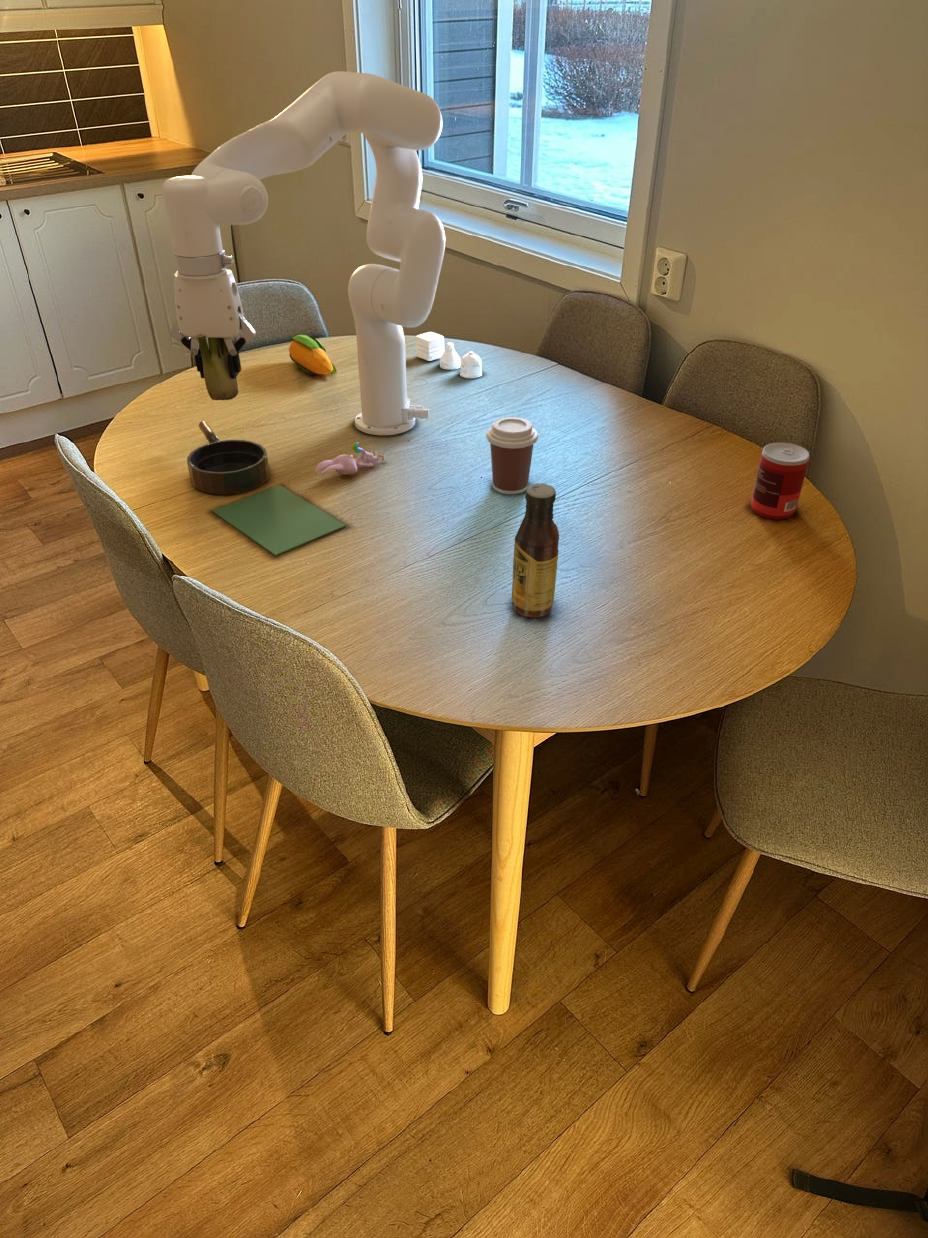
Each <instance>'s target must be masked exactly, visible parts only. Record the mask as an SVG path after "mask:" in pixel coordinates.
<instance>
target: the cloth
mask: <svg viewBox="0 0 928 1238" xmlns="http://www.w3.org/2000/svg"><path fill="white" fill-rule="evenodd" d="M211 513H213V514H215V515H216V516H218V517H219V518H220V519H221V520H223V521H225V522H226V523H228V524H229V525H230V526H231V527H233V528H235V529H236V530H238V532H240V533H241V534H243V535H245V536H246V537H247V538H248V539H250V540H251V541H253V542H255V543H256V544H257V545H259V546H260V547H262V548H263V549H265V550H266V551H267V552H269V553H270V554H272V555H273V556H274V557H278V556H280V555H282V554H285V553H287V552H289V551H291V550H295V549H296V548H299V547H301V546H304V545H306V544H308V543H311V542H314V541H315V540H319V539H320V538H322V537H325V536H328V535H331V534H333V533H335V532H337V531H340V530H341V529H344V528H346V527H347V525H346V524H345V523H343V522H341V521H339V520H338V519H336V518H335V517H333V516H331V515H330V514H328V513H326V512H325V511H323V510H322V509H320V508H318V507H316V506H315V505H314V504H312V503H310V502H309V501H307V500H305V499H303V498H302V497H301V496H299V495H297V494H296V493H294V492H292V491H291V490H289V489H287V488H285V487H284V486H282V485H280V484H279V485H276V486H274V487H271V488H269V489H266V490H263V491H260V492H257V493H255V494H252V495H250V496H247V497H245V498H241V499H239V500H236V501H233V502H231V503H228V504H225V505H223V506H219V507H217V508H214V509H212V510H211Z"/></svg>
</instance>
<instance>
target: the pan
mask: <svg viewBox="0 0 928 1238" xmlns="http://www.w3.org/2000/svg"><path fill="white" fill-rule="evenodd" d="M186 461H187V463H186V464H187V468H188V474H189V478H190V484H191V485H192V486H193V487H194V488H195V489H196V490H199V491H201V492H203V493H207V494H210V495H220V496H223V495H226V496H227V495H237V494H242V493H246V492H248V491H251V490H254V489H256V488H258V487H260V486H262V484H264V483H265V482H266V481H267V480H268V479H269V477H270V475H271V472H270V467H269V466H270V465H269V459H268V453H267V449H266V448H265V447H264V446H263V445H262V444H260V443H257V442H255V441H251V440H245V439H225V440H223V439H222V440H220V441H217V442H213V443H209V442H208V443H206V444H204V445H203V444H202V445H201V446H199V447H196V448H195V449H194V450H191V452H190V453H189V454H188V456H187V457H186Z"/></svg>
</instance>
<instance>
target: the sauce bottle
mask: <svg viewBox="0 0 928 1238" xmlns="http://www.w3.org/2000/svg"><path fill="white" fill-rule="evenodd" d="M556 495H557V491H556V489H555V487H554V486H552V485H550V484H547V483H541V482H539V483H532V484H531V485H528V487H527V489H526V490H525V496H524V498H525V501H526V503H525V512H524V517H523V518H522V521H521V523H520V525H519V528H518V530H517V532H516V534H515V536H514V546H513V547H514V548H513V560H512V561H513V564H512V581H511V582H512V583H511V601H512V602H511V605H512V608H513V610H514V611H515V612H516V613H517V614H518V615H520V616H521V617H524V618H532V619H534V618H535V619H536V618H542V617H544V616H547V615H548V614H550V613H551V611H552V609H553V605H554V603H555V592H556V582H557V574H558V573H557V570H558V563H559V562H558V561H559V551H560V550H559V541H560V532H559V529H558V525H557V524H556V523H555V522H554V520H553V519H554V504H555V501H556Z"/></svg>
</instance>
